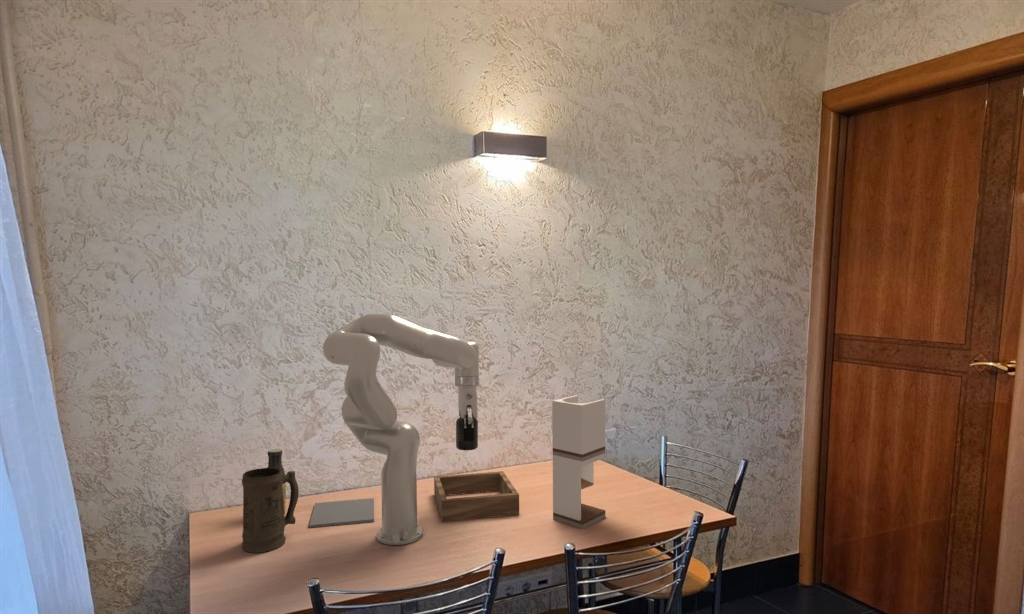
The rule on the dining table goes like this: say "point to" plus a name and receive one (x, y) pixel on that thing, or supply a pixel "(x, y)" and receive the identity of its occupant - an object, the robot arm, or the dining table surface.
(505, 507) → the crate
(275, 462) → the sauce bottle
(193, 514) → the dining table surface
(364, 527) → the dining table surface
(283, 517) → the beer stein
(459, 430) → the supplement bottle
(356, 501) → the mat
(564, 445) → the white notched column
